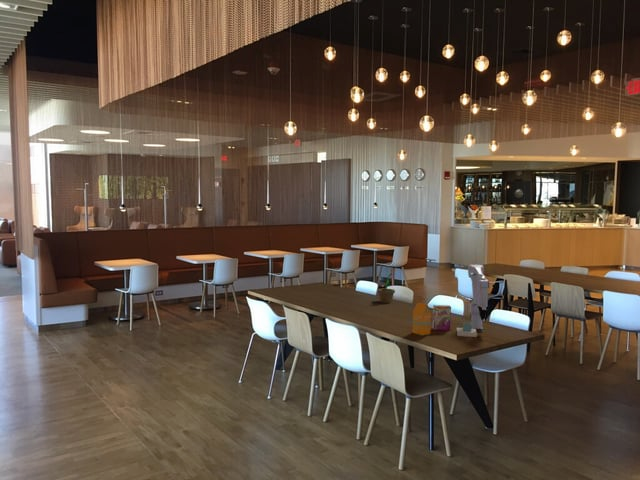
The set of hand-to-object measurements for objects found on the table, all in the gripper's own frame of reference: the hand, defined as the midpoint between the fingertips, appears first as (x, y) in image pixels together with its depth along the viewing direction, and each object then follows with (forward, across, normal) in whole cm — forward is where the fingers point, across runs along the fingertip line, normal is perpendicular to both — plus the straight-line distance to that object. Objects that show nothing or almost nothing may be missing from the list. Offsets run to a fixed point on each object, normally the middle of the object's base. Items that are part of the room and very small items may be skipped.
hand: (482, 318), depth 345 cm
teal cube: (+7, +5, -10) cm, 13 cm away
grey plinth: (+10, +5, -10) cm, 15 cm away
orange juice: (+10, +11, -39) cm, 42 cm away
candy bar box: (+10, -3, -26) cm, 28 cm away
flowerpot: (+10, -90, -70) cm, 114 cm away
